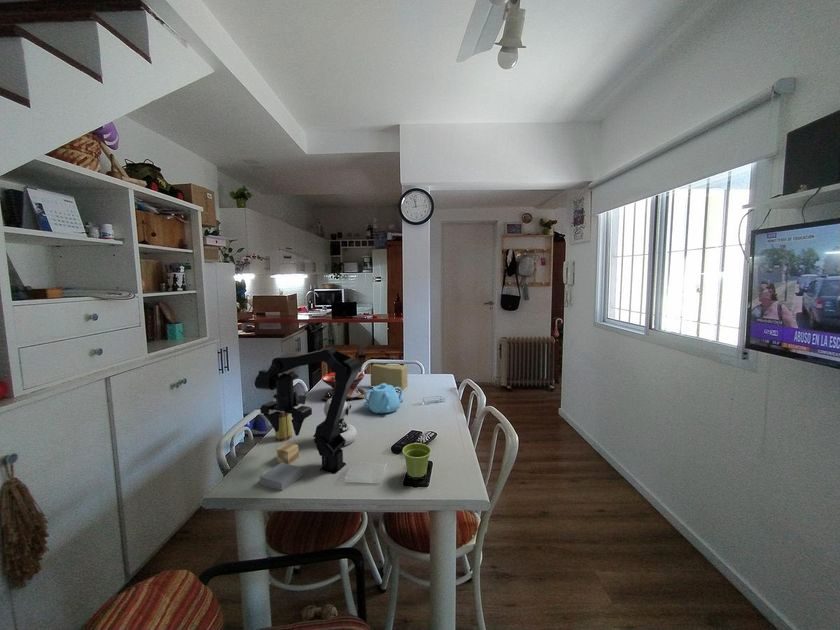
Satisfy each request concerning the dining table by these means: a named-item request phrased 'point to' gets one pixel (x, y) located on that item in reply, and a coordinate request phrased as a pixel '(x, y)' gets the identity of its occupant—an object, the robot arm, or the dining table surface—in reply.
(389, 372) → the cheese
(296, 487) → the dining table surface
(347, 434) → the decorative figurine
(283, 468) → the block
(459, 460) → the dining table surface
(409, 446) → the plant pot
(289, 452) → the oak cube
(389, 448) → the dining table surface
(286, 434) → the sauce bottle
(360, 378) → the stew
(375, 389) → the decorative pot
